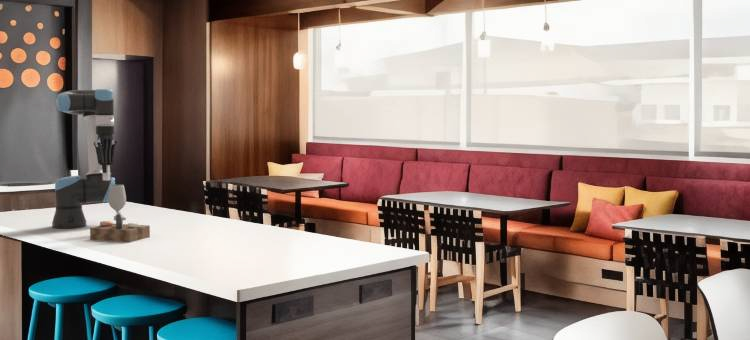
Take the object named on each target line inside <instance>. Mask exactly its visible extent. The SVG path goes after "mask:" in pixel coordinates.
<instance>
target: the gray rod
mask: <svg viewBox="0 0 750 340" xmlns="http://www.w3.org/2000/svg"><path fill="white" fill-rule="evenodd" d="M115 216H116V220H115V224H116V229H122V213H121V211H119V212H117V213H116V214H115Z"/></svg>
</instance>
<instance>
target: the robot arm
mask: <svg viewBox="0 0 750 340" xmlns="http://www.w3.org/2000/svg"><path fill="white" fill-rule="evenodd" d="M114 100H115V96H114V90H113V89H110V88H107V89H106V88H105V89H104V88H101V89H100V88H99V89H98V88H97V89H85V90H84V89H72V90H67V91H64V92H61V93H59V94H57V97H56V99H55V106H56V107H57V110H58V111H59V112H63V113H66V114H69V115H82V119H83V120H84V121H85V122H86V135H87V137H86V138H87V157H88V159H87V160H88V171H87V173H86V174H85V178H82V176H81V175H70V176H65V177H60V178H57V179H56V180H55V182H54V191H55V193H54V194H55V212H54V216H53V220H52V222H51V225H52V228H53V229H54V228H55V229H75V228H83V227H86V226H87V219H86V217H85V214H84V211H83V204H94V203H95V204H98V203H101V204H102V203H109V201H108V196H109V188H110V185H116V178H115V177H112V172H111V166H113V164H114V162H115V153H116V146H117V143H118V141H117V140H114V137H113V135H115V116H114V115H115V114H114V113H115V111H114V110H115V108H114V105H115V103H114Z"/></svg>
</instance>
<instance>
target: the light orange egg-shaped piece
mask: <svg viewBox="0 0 750 340" xmlns="http://www.w3.org/2000/svg"><path fill="white" fill-rule="evenodd" d="M112 224H113V221H111V220H104V221H102V220H101V221H100V222H99V226H104V227H108V226H112Z"/></svg>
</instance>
